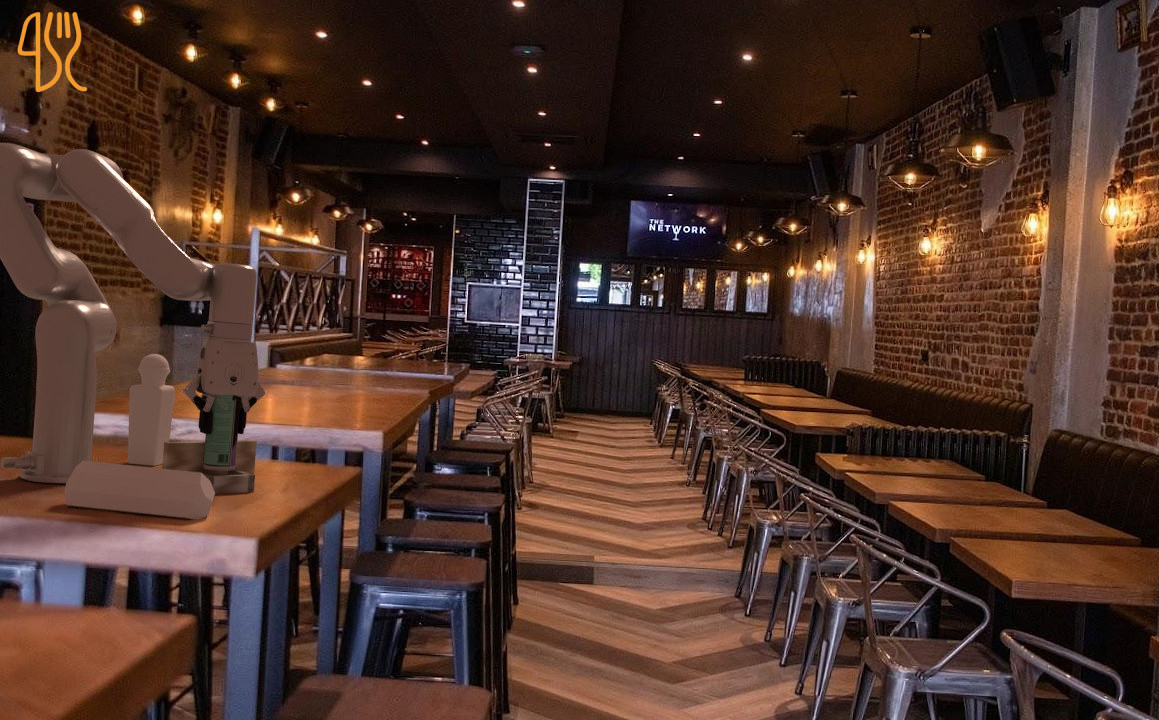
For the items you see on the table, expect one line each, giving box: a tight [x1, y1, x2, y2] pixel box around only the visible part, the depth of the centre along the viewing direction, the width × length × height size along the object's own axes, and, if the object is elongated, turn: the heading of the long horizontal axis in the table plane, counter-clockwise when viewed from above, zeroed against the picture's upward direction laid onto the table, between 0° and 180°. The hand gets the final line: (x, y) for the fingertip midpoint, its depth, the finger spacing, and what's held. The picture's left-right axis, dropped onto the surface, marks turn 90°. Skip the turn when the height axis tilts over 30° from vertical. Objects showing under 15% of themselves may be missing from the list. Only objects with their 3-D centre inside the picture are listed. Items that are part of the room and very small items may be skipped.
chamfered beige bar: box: [64, 460, 216, 521], centre depth 163 cm, size 7×7×24 cm
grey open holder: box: [161, 439, 257, 495], centre depth 188 cm, size 17×9×8 cm, turn 136°
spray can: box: [203, 376, 241, 471], centre depth 187 cm, size 6×6×20 cm
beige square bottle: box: [127, 353, 176, 467], centre depth 208 cm, size 6×6×22 cm
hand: (221, 432), depth 187 cm, fingers closed on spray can, 5 cm apart
